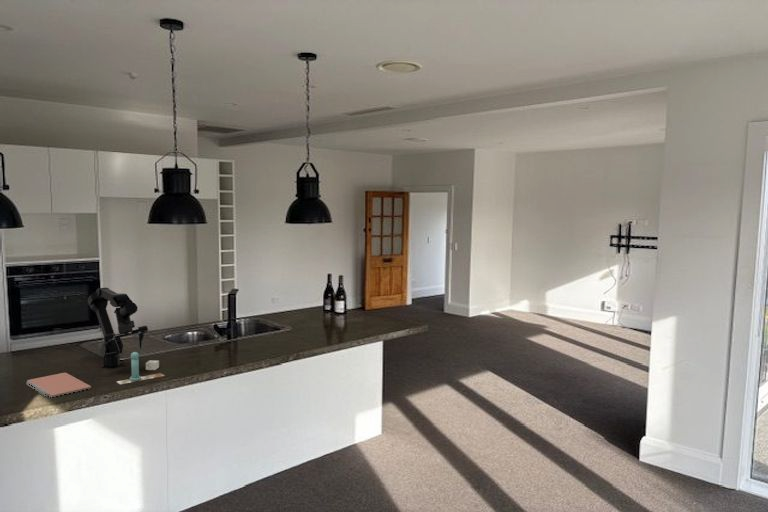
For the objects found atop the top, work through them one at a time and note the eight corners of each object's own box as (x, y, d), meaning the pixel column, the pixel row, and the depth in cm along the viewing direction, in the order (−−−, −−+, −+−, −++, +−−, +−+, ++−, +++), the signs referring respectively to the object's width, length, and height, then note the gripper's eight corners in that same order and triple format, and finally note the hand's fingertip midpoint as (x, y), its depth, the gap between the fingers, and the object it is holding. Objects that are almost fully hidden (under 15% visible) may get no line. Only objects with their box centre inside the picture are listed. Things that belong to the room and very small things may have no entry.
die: (145, 372, 260) (145, 362, 259) (149, 369, 264) (149, 360, 264) (155, 372, 260) (155, 363, 259) (158, 369, 264) (158, 360, 264)
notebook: (24, 384, 239) (24, 380, 239) (65, 376, 253) (65, 371, 252) (48, 400, 223) (48, 395, 222) (91, 390, 236) (91, 385, 236)
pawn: (127, 380, 244) (127, 352, 242) (134, 377, 248) (133, 350, 247) (136, 381, 243) (135, 353, 241) (142, 378, 247) (142, 351, 246)
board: (119, 388, 238) (119, 385, 238) (114, 384, 242) (114, 381, 242) (166, 378, 252) (166, 375, 252) (160, 375, 257) (160, 372, 257)
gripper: (99, 321, 245) (106, 355, 242) (143, 311, 253) (150, 344, 250) (102, 325, 255) (109, 357, 252) (145, 316, 263) (151, 347, 260)
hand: (130, 351), depth 253 cm, fingers open, 9 cm apart
